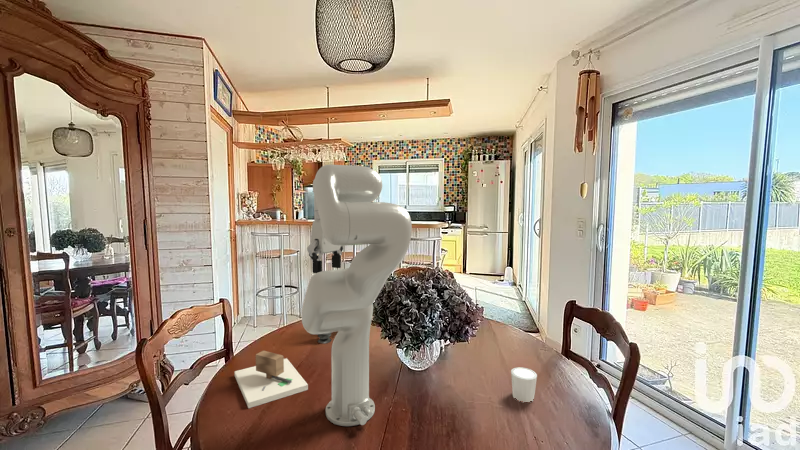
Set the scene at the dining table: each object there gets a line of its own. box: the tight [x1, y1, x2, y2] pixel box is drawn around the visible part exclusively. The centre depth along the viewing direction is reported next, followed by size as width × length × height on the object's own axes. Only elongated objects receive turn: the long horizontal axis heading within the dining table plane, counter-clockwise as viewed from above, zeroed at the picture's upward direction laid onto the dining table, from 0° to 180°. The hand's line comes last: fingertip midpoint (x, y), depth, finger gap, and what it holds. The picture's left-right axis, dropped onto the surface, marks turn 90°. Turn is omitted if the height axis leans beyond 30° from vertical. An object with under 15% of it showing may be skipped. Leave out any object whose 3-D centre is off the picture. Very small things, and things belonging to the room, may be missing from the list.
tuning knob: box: [255, 350, 292, 383], centre depth 102 cm, size 12×3×7 cm, turn 65°
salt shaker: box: [317, 332, 333, 345], centre depth 134 cm, size 6×6×12 cm
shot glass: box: [510, 366, 538, 403], centre depth 97 cm, size 7×7×7 cm
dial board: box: [234, 357, 309, 409], centre depth 103 cm, size 20×16×2 cm
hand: (327, 270), depth 109 cm, fingers open, 9 cm apart
